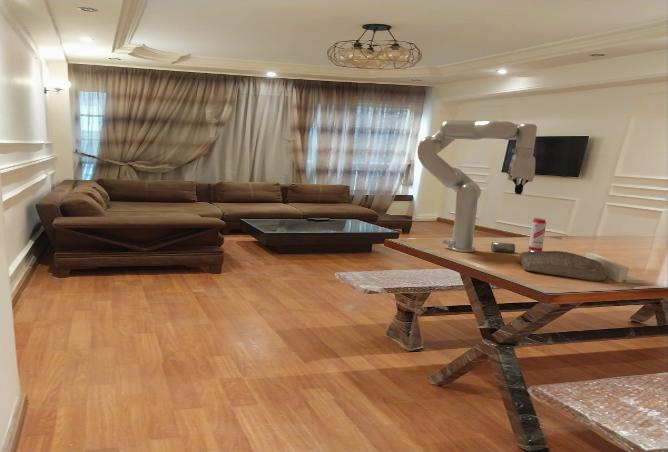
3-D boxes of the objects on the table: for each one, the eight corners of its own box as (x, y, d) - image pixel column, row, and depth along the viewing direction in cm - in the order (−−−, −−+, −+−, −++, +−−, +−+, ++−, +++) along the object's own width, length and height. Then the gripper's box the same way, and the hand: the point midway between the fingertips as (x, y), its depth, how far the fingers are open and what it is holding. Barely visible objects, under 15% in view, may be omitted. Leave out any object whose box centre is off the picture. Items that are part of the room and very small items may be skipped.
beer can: (544, 252, 219) (549, 220, 216) (531, 251, 219) (536, 219, 216) (538, 249, 225) (543, 218, 223) (526, 248, 225) (530, 217, 223)
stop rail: (618, 282, 173) (621, 267, 172) (584, 265, 197) (586, 252, 196) (642, 283, 173) (645, 268, 172) (605, 267, 197) (607, 253, 196)
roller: (494, 251, 212) (494, 241, 213) (490, 251, 216) (490, 242, 217) (515, 252, 212) (515, 243, 213) (511, 253, 217) (511, 244, 217)
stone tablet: (523, 273, 179) (607, 283, 171) (525, 253, 178) (611, 263, 169) (518, 262, 198) (593, 271, 190) (520, 244, 197) (596, 252, 189)
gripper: (510, 151, 194) (504, 193, 197) (544, 153, 193) (538, 196, 197) (504, 151, 201) (498, 192, 204) (537, 153, 201) (531, 194, 204)
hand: (518, 194), depth 200 cm, fingers closed
